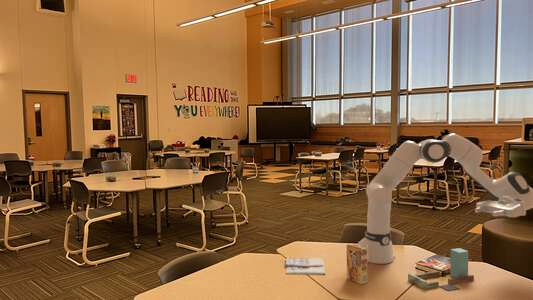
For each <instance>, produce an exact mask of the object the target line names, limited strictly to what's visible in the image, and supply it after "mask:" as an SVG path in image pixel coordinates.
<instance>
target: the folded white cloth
mask: <svg viewBox="0 0 533 300" xmlns="http://www.w3.org/2000/svg"><path fill="white" fill-rule="evenodd" d="M300 267H301V268H300ZM309 267H316V268H309ZM302 268H307V269H302ZM285 269H286V270H285V274H286V275H315V274H319V275H318V276H324V275H323V274H325V275H326V271H325V261H324V260H323V258H322V257H319V258H318V257H307V258H306V257H305V258H303V257H302V258H301V257H299V258H296V257H295V258H294V257H293V258H290V257H289V258H285ZM320 274H321V275H320Z"/></svg>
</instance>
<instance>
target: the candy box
mask: <svg viewBox="0 0 533 300" xmlns="http://www.w3.org/2000/svg"><path fill="white" fill-rule="evenodd" d="M346 279H348V280H350V281H353V282H354V283H357V284H359V285H365V284H367V283H368V262H367V248H365V247H362V246H359V245H358V244H355V243H349V244H346Z"/></svg>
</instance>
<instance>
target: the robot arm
mask: <svg viewBox="0 0 533 300" xmlns="http://www.w3.org/2000/svg"><path fill="white" fill-rule="evenodd" d="M483 154H484V153H483V150H482V149H481V147H479V146H478V145H476V144H475V143H473V142H472V141H470V140H469V139H468V138H465V137H463V136H462V135H459V134H457V133H449V134H446V135H445V136H444V137H443V139H442V140H440V139H439V140H438V139H435V138H427V139H424V140H421V141H419V142H417V143H416V142H415V141H411V140H406V141H404V142H403V143H402V144H401V145H400V146H399V147H398V148H397V149H396V150H395V151H394V152H393V153H392V155H391V156H390V158H389V159H388V160H387V162H386V163H385V165H384V166H383V167H382V169H380V171H379V172H378V173H377V174H376V175H375V176H374V177H373V179H372V180H371V181H370V182H369V183H368V185H367V186H366V190H365V192H366V193H365V194H366V196H367V212H366V213H367V215H366V216H367V217H366V218H367V219H366V220H367V221H366V222H367V223H366V230H365V231H364V234H365V235H364V238H361V240H360V241H358V242H357V245H359V246H362V247H365V248H367V263H372V264H379V265H381V264H382V265H383V264H390V263H393V261H394V258H395V257H396V255H395V254H394V249H393V242H392V234H391V212H392V211H391V210H392V201H393V200H392V196H393V195H392V194H393V193H392V191H393V190H394V189H395V188H397V186H398V185H400V184H401V183H402V181H404V179H405V178H406V176H407V175H408V174H409V172H410V171H411V169H412V168H413V167H414V165H415V164H416V163H417V162H418V161H420V160H424V161H426V162H428V163H433V164H434V163H435V164H437V163H440V162H441V161H443V160H445V159H446V158H447V157H450V158H452V159H454V160H455V161H457V163H458V164H460V165H461V166H462V169H463V170H464V173H466V174H467V176H469V177H470V178H471V179H472V180H474V182H475V183H477V184H478V185H479V186H480V187H481V188H482V189H484V190H485V192H486V193H487V194H488V196H489V197H490V198H492V199H493V200H489V199H488V200H484V201H483V200H482V201H478V202H476V204H475V206H476V208H475V209H474V212H475V214H476V213H477V214H479V213H482V212H483V213H489V214H491V216H493V217H500V216H501V217H508V218H518V217H521V216H523V217H524V216H526V215H527V211H528V210H531V209H533V188H532V187H531V186H530V185H529V183H528V181H527V180H526V178H525V177H524V176H523V175H522V174H521V173H519V172H516V171H511V172H509V173H506V174H505V175H503V176H502V177H500V178H498V179H493V178H491V177H490V176H489V175H488V174H486V172H484V171H483V170H482V169H481V168H480V166H481V164H482V161H483V157H484V155H483Z"/></svg>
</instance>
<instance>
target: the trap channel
mask: <svg viewBox="0 0 533 300" xmlns="http://www.w3.org/2000/svg"><path fill="white" fill-rule="evenodd" d="M448 269H449V272H450V268H448ZM440 276H441V274H440V271H433V272H430V271H427V272H422V273H416V274H413V273H411V272H409V273H407V281H408V282H411V283H412V284H414V285H416V286H418V287H420V288H422V289H424V290H427V289H433V288H437V287H439V288H440V289H443V290H445V291H447V292H450V291H456V290H460V288H459V287H458V286H456V285H455V284H459V283H465V282H469V281H474V280H475V276H474V274H468V275H466V276H461V277H455V278H454V277H450V278H447V284H442V285H440V282H439V281H438V280H434V281H427V280H425V279H428V278H436V277H440Z"/></svg>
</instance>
